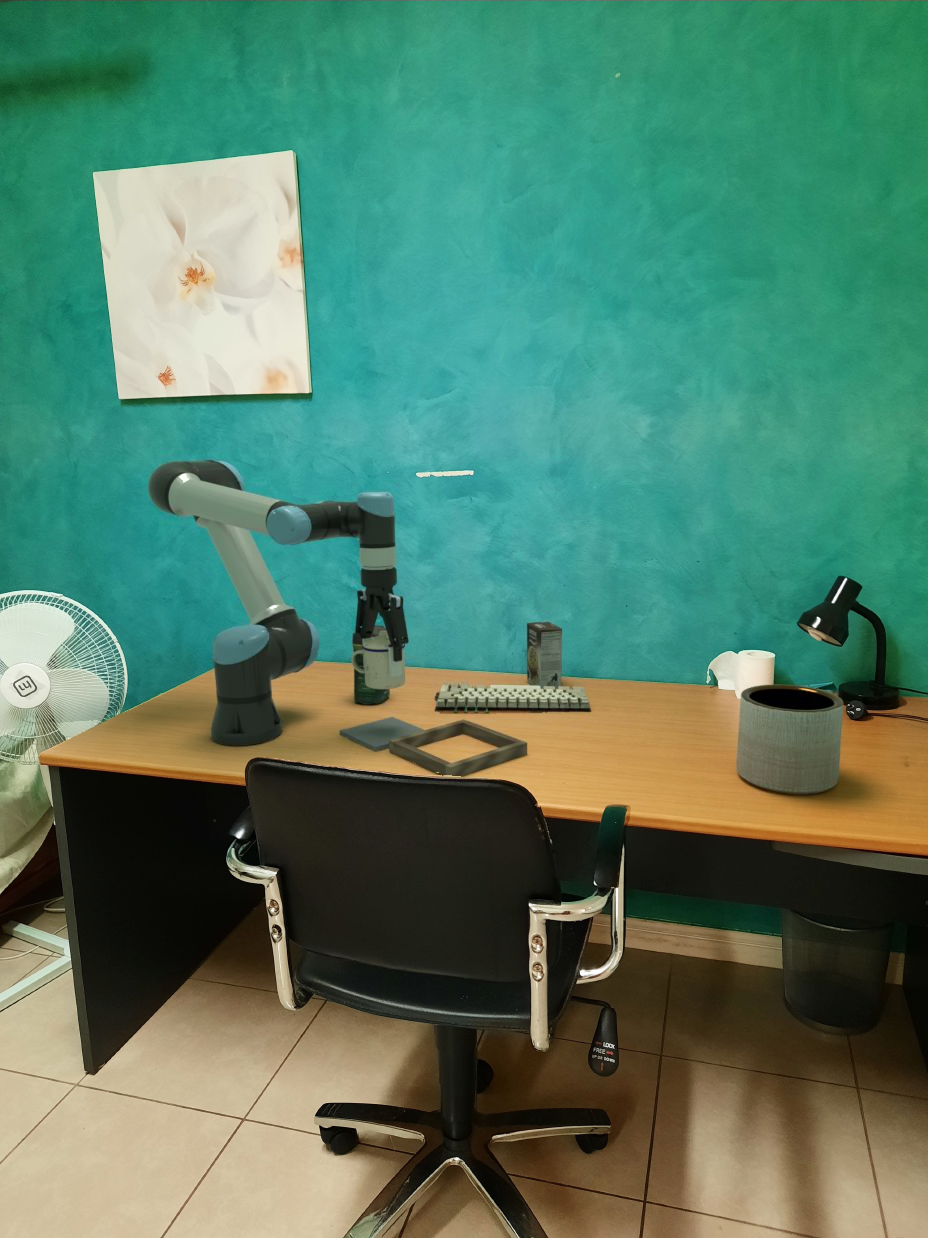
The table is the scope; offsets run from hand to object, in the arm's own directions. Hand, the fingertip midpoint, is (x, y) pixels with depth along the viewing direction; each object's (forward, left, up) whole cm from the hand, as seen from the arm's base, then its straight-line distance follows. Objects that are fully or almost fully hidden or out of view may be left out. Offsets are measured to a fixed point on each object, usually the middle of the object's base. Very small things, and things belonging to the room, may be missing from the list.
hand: (382, 671), depth 180 cm
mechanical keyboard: (+37, 0, -15) cm, 40 cm away
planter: (+42, -70, -15) cm, 83 cm away
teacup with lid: (0, +1, -3) cm, 3 cm away
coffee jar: (+13, +24, -15) cm, 31 cm away
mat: (0, 0, -14) cm, 14 cm away
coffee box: (+53, +4, -15) cm, 55 cm away
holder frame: (+5, -19, -14) cm, 24 cm away
